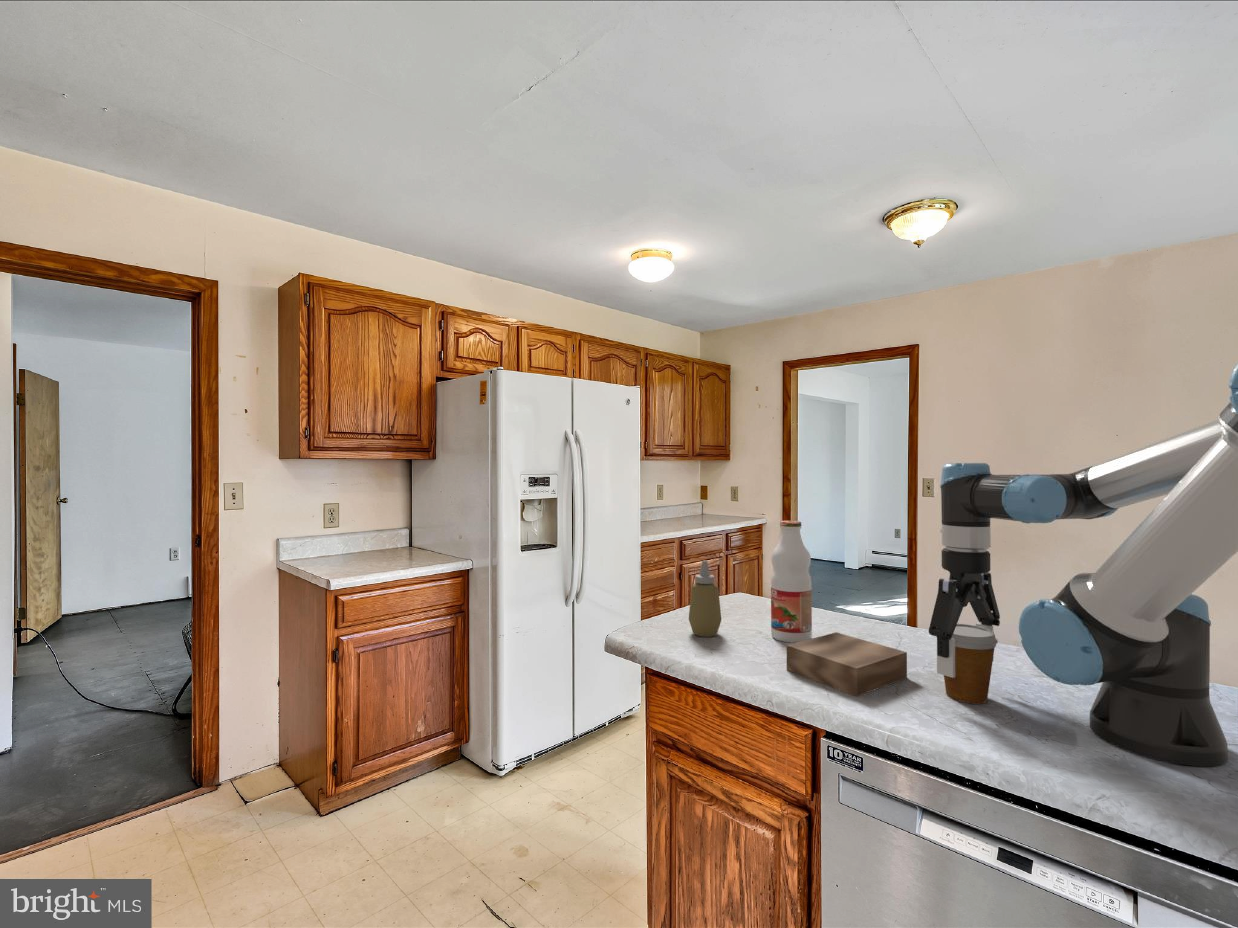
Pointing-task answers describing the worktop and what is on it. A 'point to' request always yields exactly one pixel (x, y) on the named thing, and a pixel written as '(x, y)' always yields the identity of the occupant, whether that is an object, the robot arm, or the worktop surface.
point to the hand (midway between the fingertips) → (966, 667)
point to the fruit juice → (791, 587)
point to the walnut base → (847, 663)
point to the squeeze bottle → (704, 604)
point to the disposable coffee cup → (971, 664)
